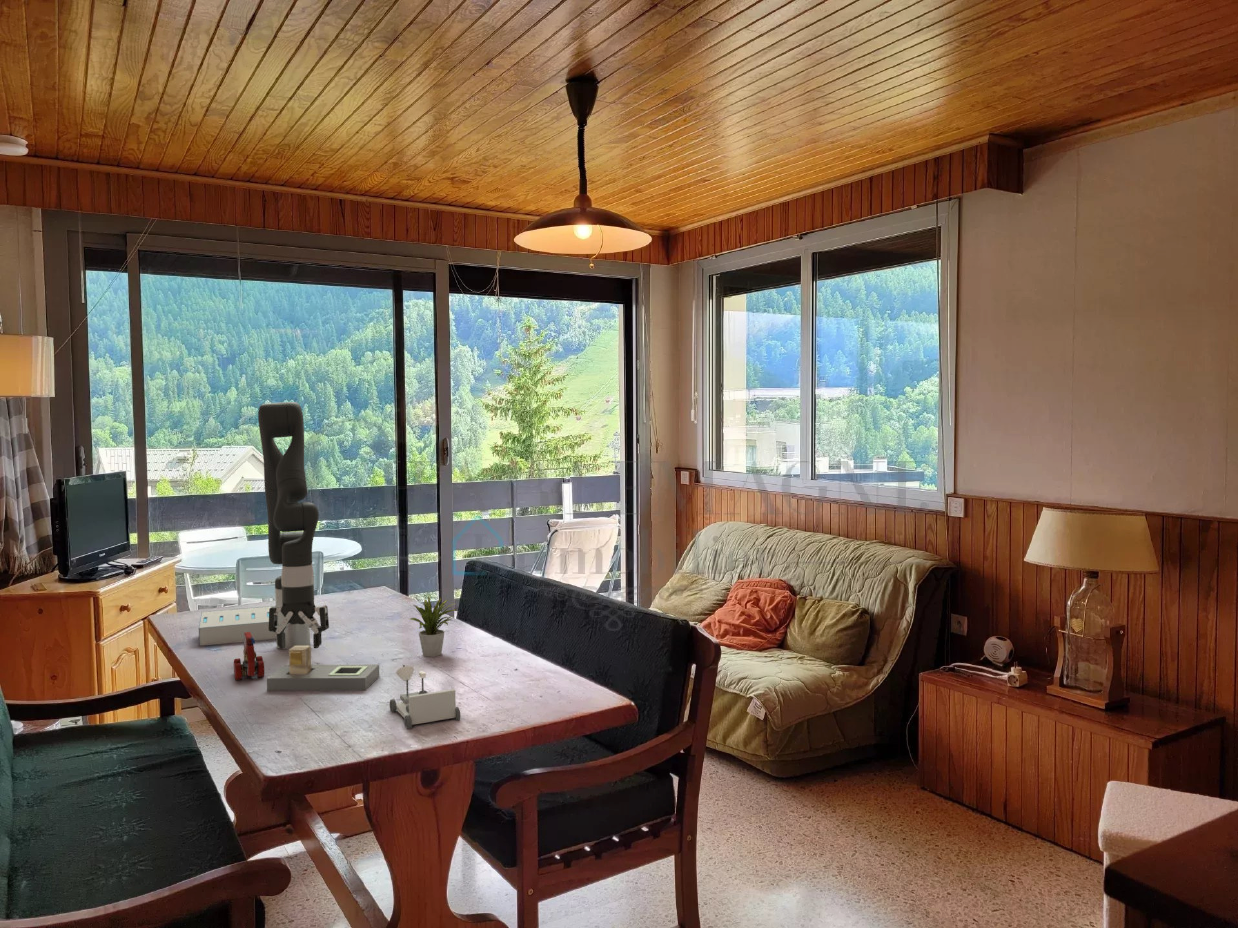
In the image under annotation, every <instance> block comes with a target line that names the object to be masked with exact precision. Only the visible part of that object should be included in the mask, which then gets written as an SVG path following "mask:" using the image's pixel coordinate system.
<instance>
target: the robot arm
mask: <svg viewBox="0 0 1238 928" xmlns="http://www.w3.org/2000/svg"><path fill="white" fill-rule="evenodd" d="M257 418H258V420H257V421H258V427H259V436H260V443H261V449H262V457H263V474H264V475H263V478H264V480H263V481H264V493H265V502H266V510H267V512H266V513H267V527H268V528H267V536H268V537H267V538H268V539H267V540H268V541H267V546H268V547H267V548H268V557H269V560H270V562H271V563H272V564H273V565H282V566H281V575H280V576H278V577H277V578H275V579H274V580H275V581H274V596H275V600H274V601H275V605H272V606H273V607H271V608H270V609H269V631H273V632H275V633H276V639H275V640H276V648H277V649H280V650H289V649H291V648H292V647H294V646H311V631H312V632H313V635H312V636H313V640H312V641H313V649H318V648H320V646H321V645H322V634H323V633H322V632H325V631H326V630H328V629H329V628H330V623H329V622H330V621H329V611H328V610H329V609H328V605H326V604H325V605H323V606H316V605H315V579H314V577H315V574H314V567H313V543H314V542H313V541H314V539H315V538H314V537H315V534H316V529H317V526H318V522H319V516H320V512H319V509H318V507H317V506H316V505H315V503H312V502H305V501H304V502H301V501H303V500H304V499H305V498H306V497H307V495H308V484H307V478H306V471H305V423H304V415H303V410H302V407H301V405H300V404H299V403H298V402H295V401H293V402H292V401H289V402H287V401H286V402H284V401H283V402H282V401H281V402H269V403H267V402H266V403H262V404H261V405H259V407H258V412H257ZM288 437H291V441H290V444H289V446H288V448H287V449H286V451H285V452H284V454H283V453H282V452H281V451H280V449H279V447H278V446H277V444H276V442H275V439H276V438H277V439H279V438H288ZM315 613H317V615H318V616H319V622H320V623H318V620H317V618H315V616H314V615H315Z"/></svg>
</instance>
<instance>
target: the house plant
mask: <svg viewBox="0 0 1238 928" xmlns="http://www.w3.org/2000/svg"><path fill="white" fill-rule="evenodd" d="M441 600H442V597H439V599H438V600H437V602H436V603H435V605H434V606H432V602H431V600H430V597H429V595H428V596H427V599H424V601H423V603H421V602H419V603H418V604H420V605H421V604H422V605H423V606H424V608H423V607H419V606H417V605H415V604H413V603H412V605H413V606H414V607H415V608H414V610H415V611H416V612H417V613H419V615H420V617H421V618H422V620H423V622H422V621H421V620H420V619H418V618H417V617H411V618H408V619H409V620H411V621H413V622H418V623H419V626H418V627H419V628H418V629H419V630H420V629H421V628H424V630H421V631H419V632H418V636H419V643H420V646H421V653H422V656H423V657H428V658H429V657H430V658H431V657H438V656H441V655H442V652H443V645H444V637H445V632H446V631H445V630H443V629H440V628H441V626H442V625H443V624H446V626H449V623H448V622H450V621H454V619H453V618H452V617H453V615H451V616H443V615H445V614H448V613H451V612H454V611H458V609H459V608H458V609H450V608H451V606H452V605H457V604H458V602H457V603H456V602H455V603H452V604H449V605H446V606H445V604H446V602H447V601H448V599H446V600H444V601H443V602H442V603H440V602H441ZM432 607H433V609H432ZM442 616H443V617H442Z"/></svg>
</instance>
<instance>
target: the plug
mask: <svg viewBox="0 0 1238 928" xmlns="http://www.w3.org/2000/svg"><path fill="white" fill-rule="evenodd" d="M288 665H289V674H309V673H310V672H311V665H312V647H311V645H309V646H294V647H292V648H291V649H288Z"/></svg>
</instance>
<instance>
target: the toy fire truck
mask: <svg viewBox="0 0 1238 928" xmlns="http://www.w3.org/2000/svg"><path fill="white" fill-rule="evenodd" d="M255 643H256V640H254V638H253V637H252V635H251V633H250V632H245V633H244V642H243V651H242V652H243V661H241V658H234V659H233V672H234V673H233V674H234V680H235V681H238V680H239V681H240V680H242V679H243V677H246V676H247V677H254V676H255V673H256V674H257V678H263V677H265V662H264V658H263V656H262V655H258V656H257V652H256V651H255V645H254V644H255Z"/></svg>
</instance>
